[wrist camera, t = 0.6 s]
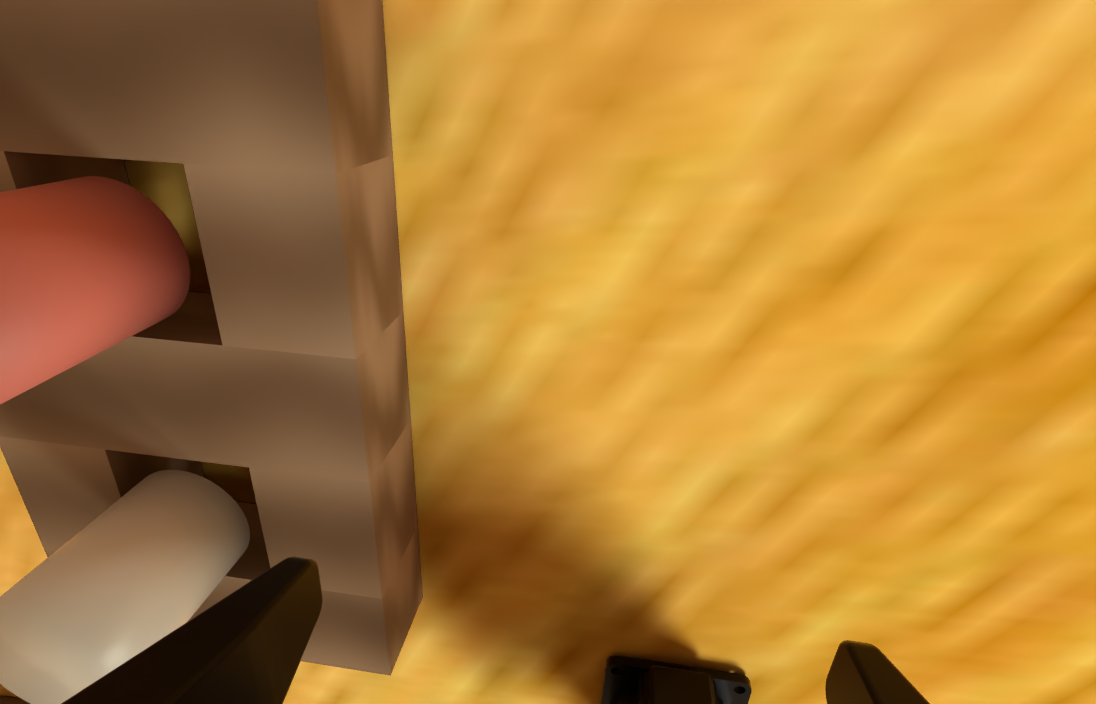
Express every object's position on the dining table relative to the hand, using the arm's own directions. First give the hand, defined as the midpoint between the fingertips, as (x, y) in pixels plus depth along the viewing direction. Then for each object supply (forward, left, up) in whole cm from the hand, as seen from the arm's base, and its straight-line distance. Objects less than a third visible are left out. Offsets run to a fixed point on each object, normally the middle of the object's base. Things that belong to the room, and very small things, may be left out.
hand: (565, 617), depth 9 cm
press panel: (-3, +14, -13) cm, 19 cm away
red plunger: (+2, +14, -9) cm, 17 cm away
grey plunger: (-8, +14, -9) cm, 19 cm away
